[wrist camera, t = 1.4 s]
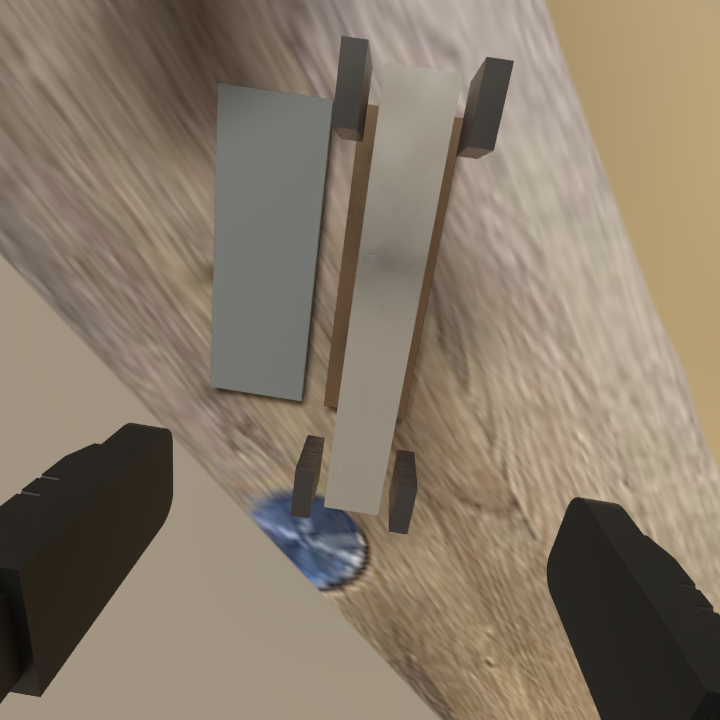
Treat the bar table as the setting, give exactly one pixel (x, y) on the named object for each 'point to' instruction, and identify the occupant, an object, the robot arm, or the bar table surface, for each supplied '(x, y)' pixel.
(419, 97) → the steel rail
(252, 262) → the rubber mat
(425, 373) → the bar table surface
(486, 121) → the cradle stand
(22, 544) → the robot arm
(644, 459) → the bar table surface
